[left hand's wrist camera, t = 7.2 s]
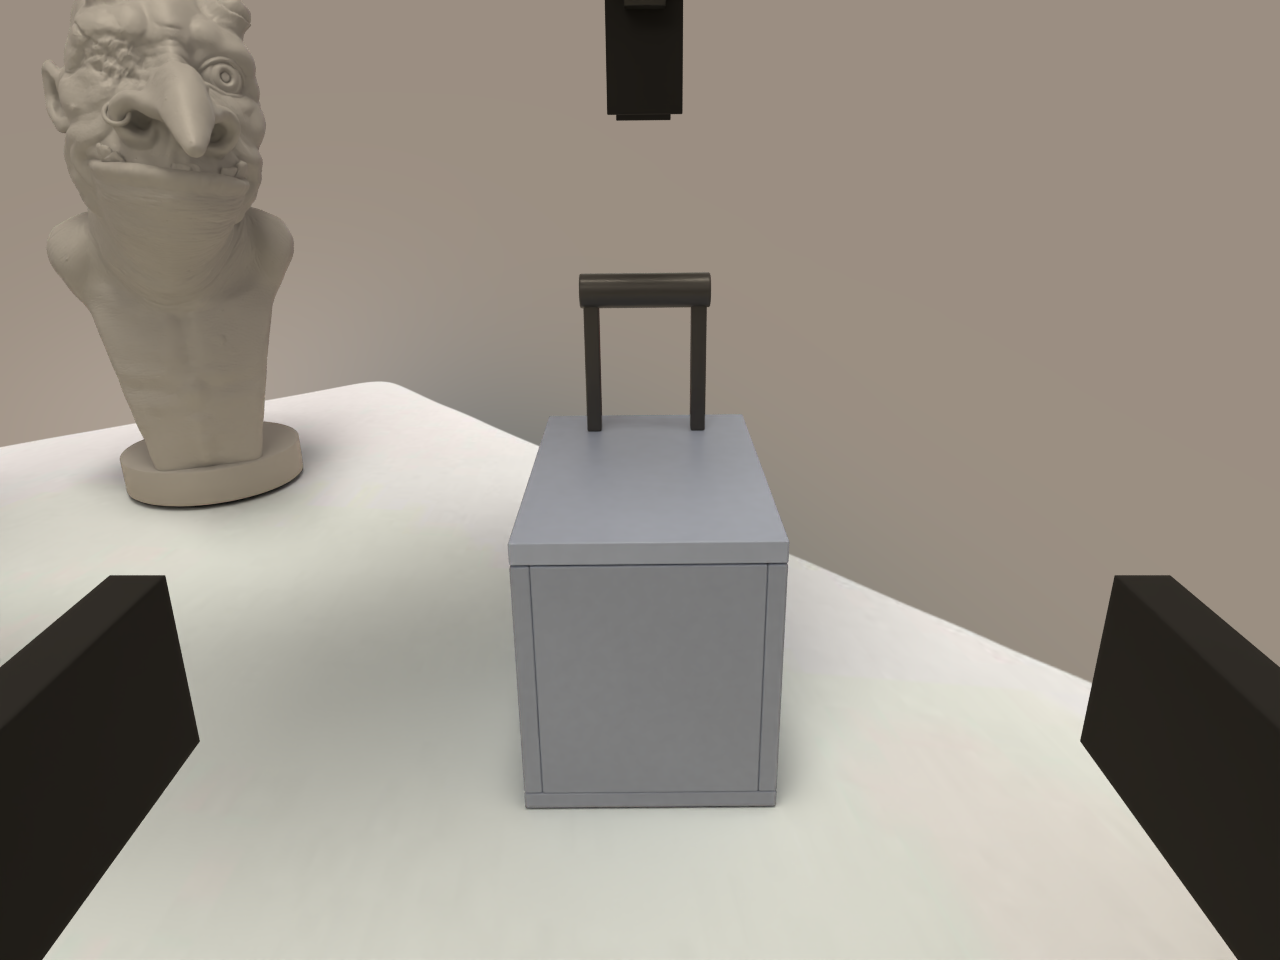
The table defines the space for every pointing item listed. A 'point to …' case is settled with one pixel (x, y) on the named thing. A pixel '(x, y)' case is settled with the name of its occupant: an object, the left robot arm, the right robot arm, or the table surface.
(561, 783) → the chest
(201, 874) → the table surface
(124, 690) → the left robot arm
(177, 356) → the bust sculpture
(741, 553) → the lid
